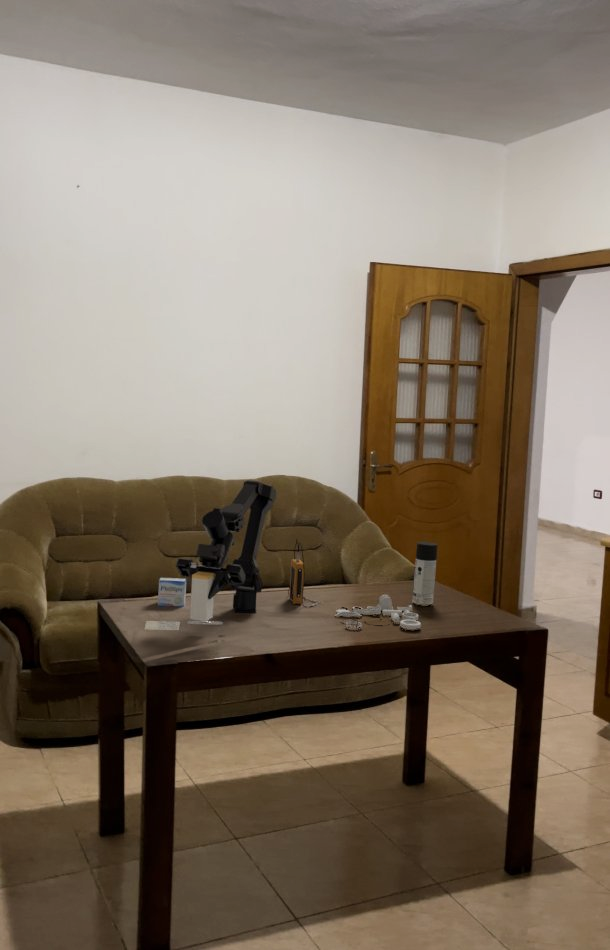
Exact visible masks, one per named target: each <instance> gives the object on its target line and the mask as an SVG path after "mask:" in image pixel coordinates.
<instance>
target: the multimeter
mask: <svg viewBox="0 0 610 950" xmlns="http://www.w3.org/2000/svg"><path fill="white" fill-rule="evenodd" d="M295 541H296V542H295V544H294V545H295V546H294V551H293V556H294V558H293V559H292V558H291V562H290V577H289V580H290V582H289V587H288V591H287V594H288V596H289V601H291V602H292V604H293V605H302V607H304V608H307V606H305V605H304V600H305V601H310V602H312V601H314V602H313V604H311V605H310V606H309V608H312V607H314V606H316V605H317V604H318V603H320V602H321V604H324V602H323V601H319V600H314V599H307V598H306V597H305V596H304V588H305V587H304V585H305V576H306V575H305V561H304V560H305V559H304V551H303V547H302V543H301V541H299V542H298V538H295ZM296 547H297V551H296ZM300 549H301V556H302V560H301V559H300ZM296 552H297V553H296ZM296 554H297V555H296ZM311 606H312V607H311Z"/></svg>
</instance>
